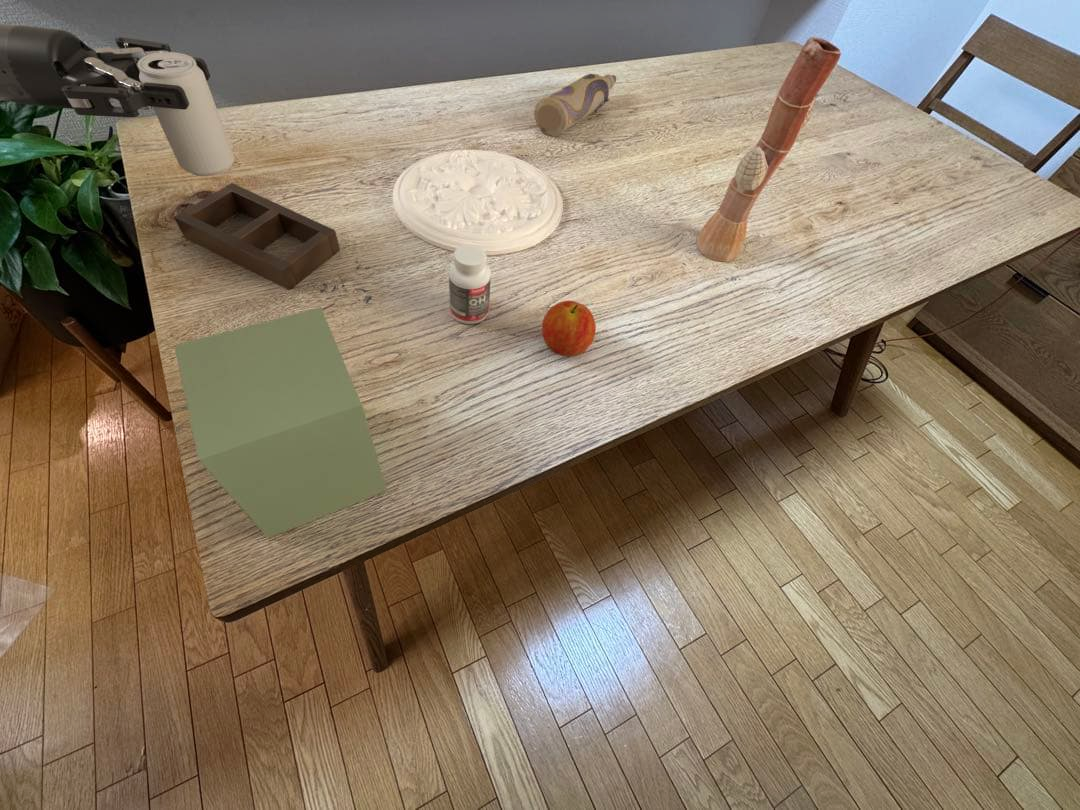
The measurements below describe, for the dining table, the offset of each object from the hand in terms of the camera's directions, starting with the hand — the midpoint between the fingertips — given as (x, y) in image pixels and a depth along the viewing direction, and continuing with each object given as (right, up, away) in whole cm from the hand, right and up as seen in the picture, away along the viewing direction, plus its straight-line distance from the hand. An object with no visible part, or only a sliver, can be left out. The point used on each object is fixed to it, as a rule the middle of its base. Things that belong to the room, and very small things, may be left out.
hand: (196, 83), depth 59 cm
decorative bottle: (+48, +23, +48) cm, 72 cm away
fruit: (+42, -29, +11) cm, 53 cm away
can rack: (-1, -13, +16) cm, 21 cm away
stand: (+15, -43, -3) cm, 46 cm away
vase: (+70, -10, +28) cm, 76 cm away
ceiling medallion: (+29, -2, +28) cm, 40 cm away
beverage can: (-4, -6, +8) cm, 10 cm away
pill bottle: (+29, -24, +13) cm, 40 cm away
